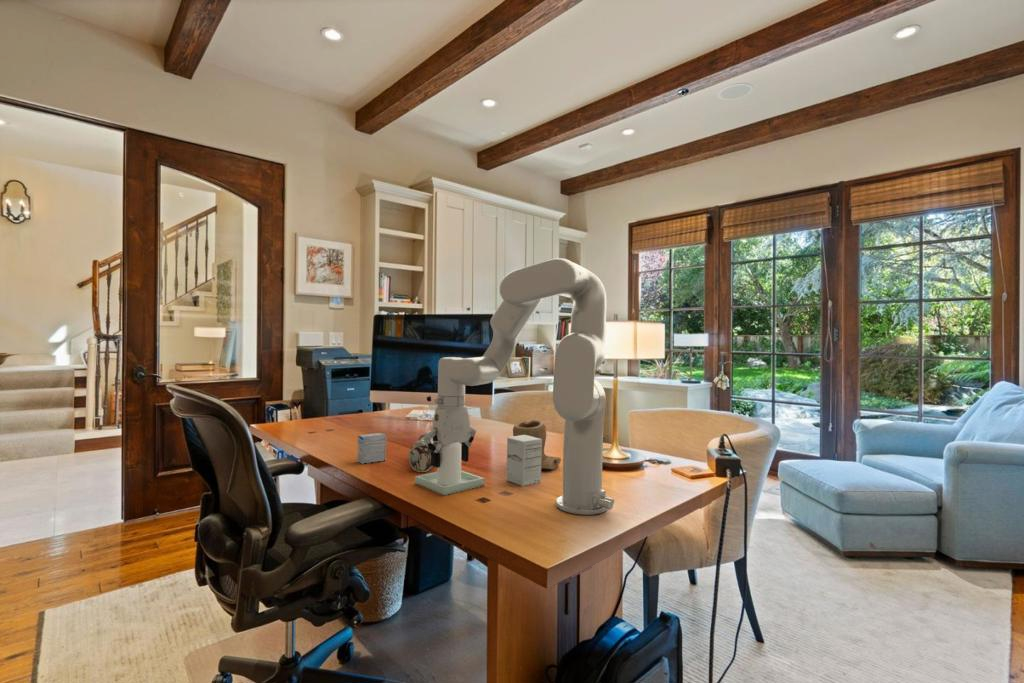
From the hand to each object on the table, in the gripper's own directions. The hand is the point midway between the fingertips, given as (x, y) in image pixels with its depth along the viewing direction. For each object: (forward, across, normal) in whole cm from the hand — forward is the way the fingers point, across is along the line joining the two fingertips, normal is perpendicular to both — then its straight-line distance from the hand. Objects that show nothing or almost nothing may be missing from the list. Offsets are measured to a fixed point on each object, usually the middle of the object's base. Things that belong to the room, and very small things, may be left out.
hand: (450, 463), depth 134 cm
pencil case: (+6, +8, +23) cm, 25 cm away
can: (+6, 0, 0) cm, 6 cm away
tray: (+6, 0, 0) cm, 6 cm away
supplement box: (+6, +18, -11) cm, 22 cm away
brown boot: (+6, +31, -3) cm, 32 cm away
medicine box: (+6, -4, +37) cm, 38 cm away
